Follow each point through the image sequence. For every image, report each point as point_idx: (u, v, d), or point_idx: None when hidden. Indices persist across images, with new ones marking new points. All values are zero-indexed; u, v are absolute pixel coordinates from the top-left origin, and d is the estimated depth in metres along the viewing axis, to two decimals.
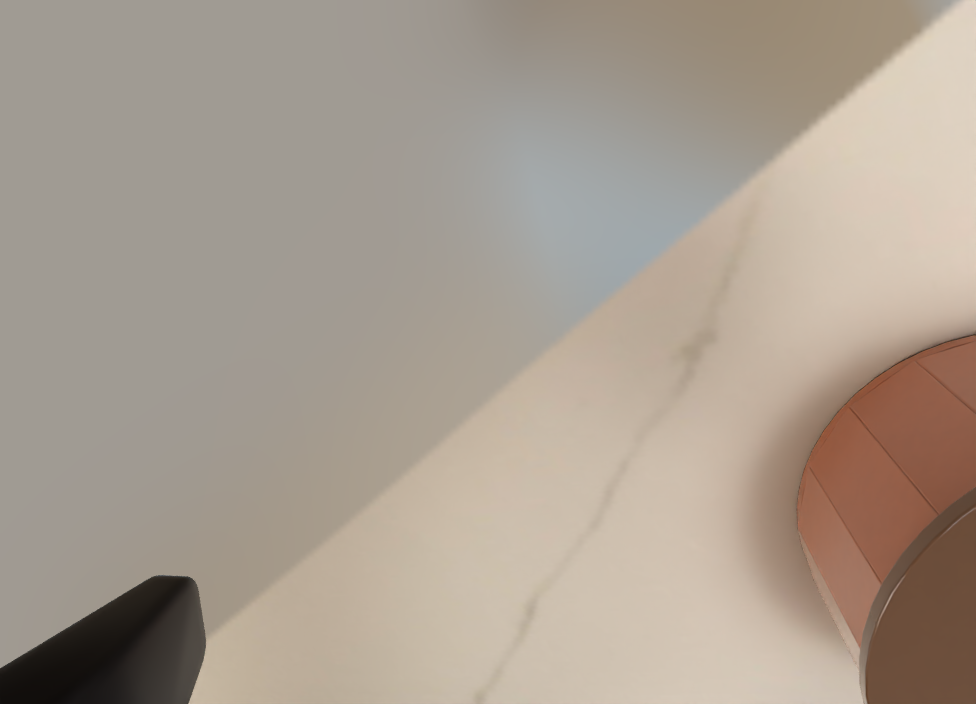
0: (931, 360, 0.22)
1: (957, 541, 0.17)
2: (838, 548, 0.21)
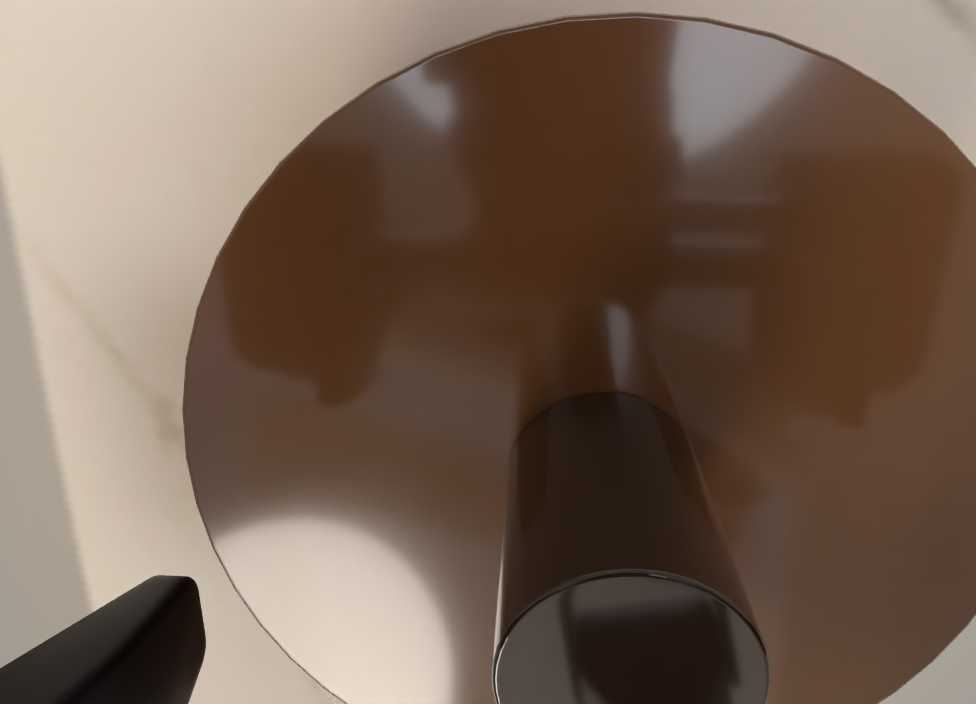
0: None
1: (231, 527, 0.12)
2: None
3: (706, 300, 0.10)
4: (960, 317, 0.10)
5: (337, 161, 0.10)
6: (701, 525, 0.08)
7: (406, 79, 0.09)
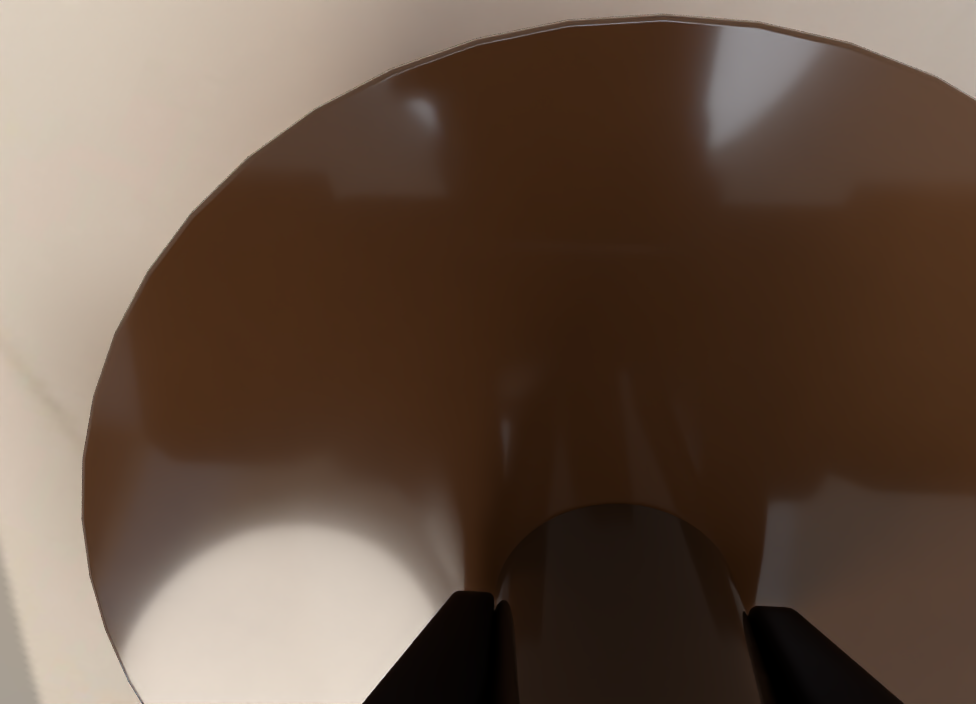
0: None
1: (150, 659, 0.09)
2: None
3: (753, 390, 0.08)
4: None
5: (266, 212, 0.07)
6: None
7: (354, 106, 0.07)
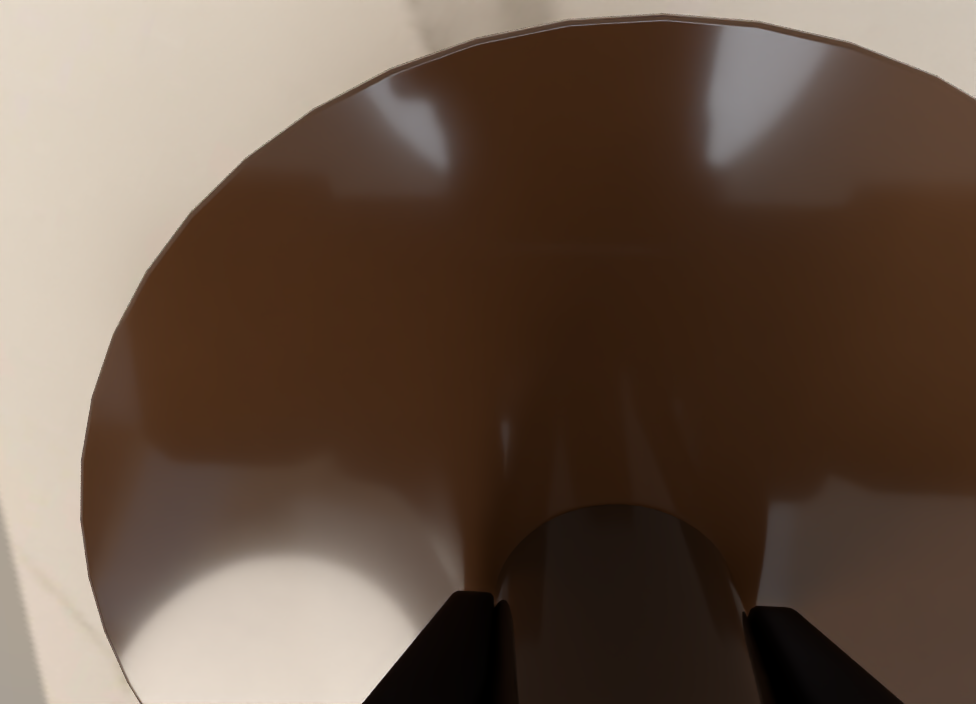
0: None
1: (148, 660, 0.09)
2: None
3: (753, 391, 0.08)
4: None
5: (264, 212, 0.07)
6: None
7: (353, 105, 0.07)
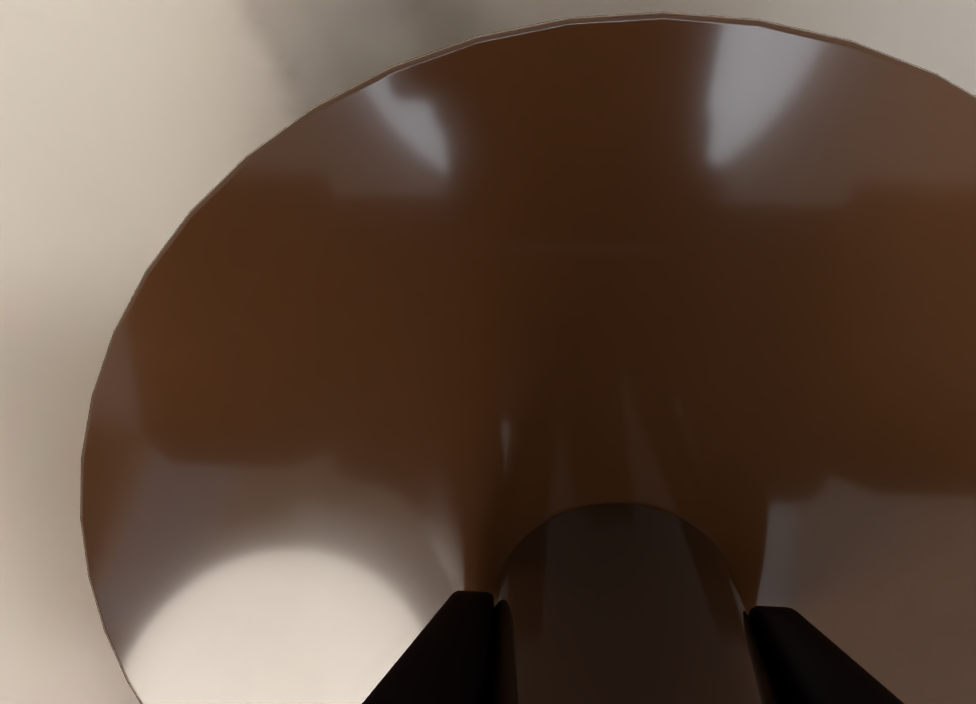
0: None
1: (149, 659, 0.09)
2: None
3: (753, 390, 0.08)
4: None
5: (265, 211, 0.07)
6: None
7: (353, 104, 0.07)
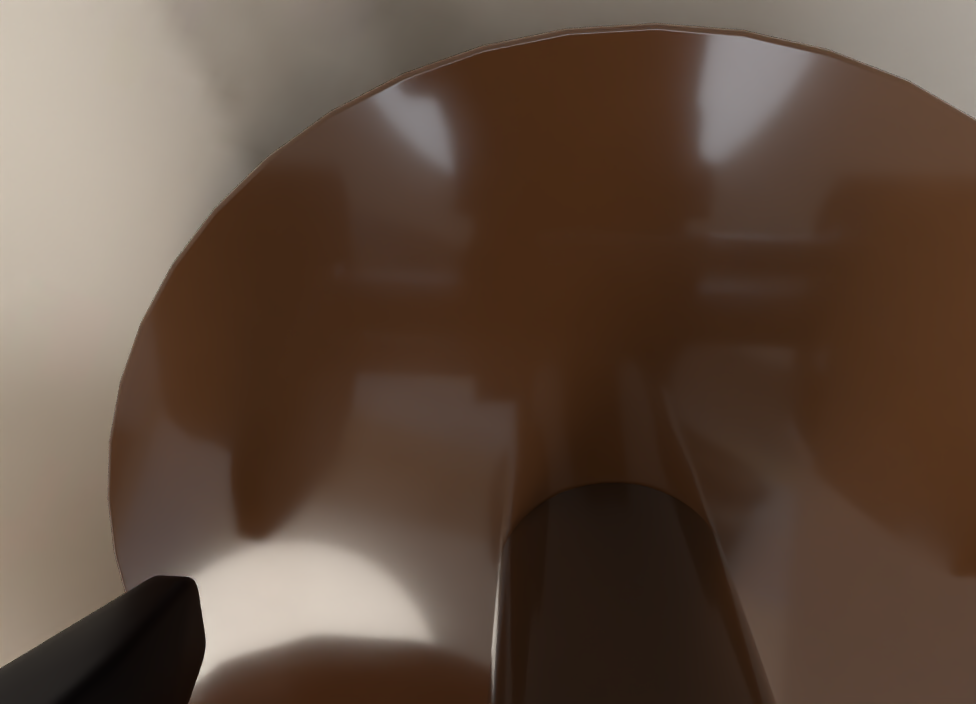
0: None
1: None
2: None
3: (741, 375, 0.08)
4: None
5: (284, 207, 0.08)
6: (744, 690, 0.06)
7: (368, 107, 0.07)
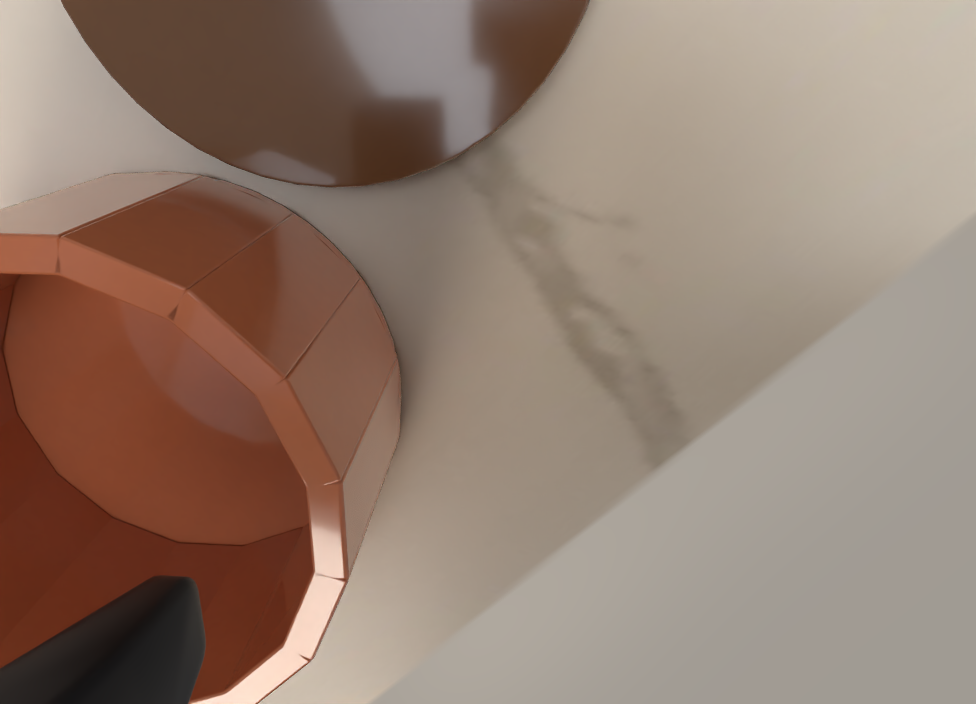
0: None
1: None
2: None
3: None
4: None
5: None
6: None
7: None
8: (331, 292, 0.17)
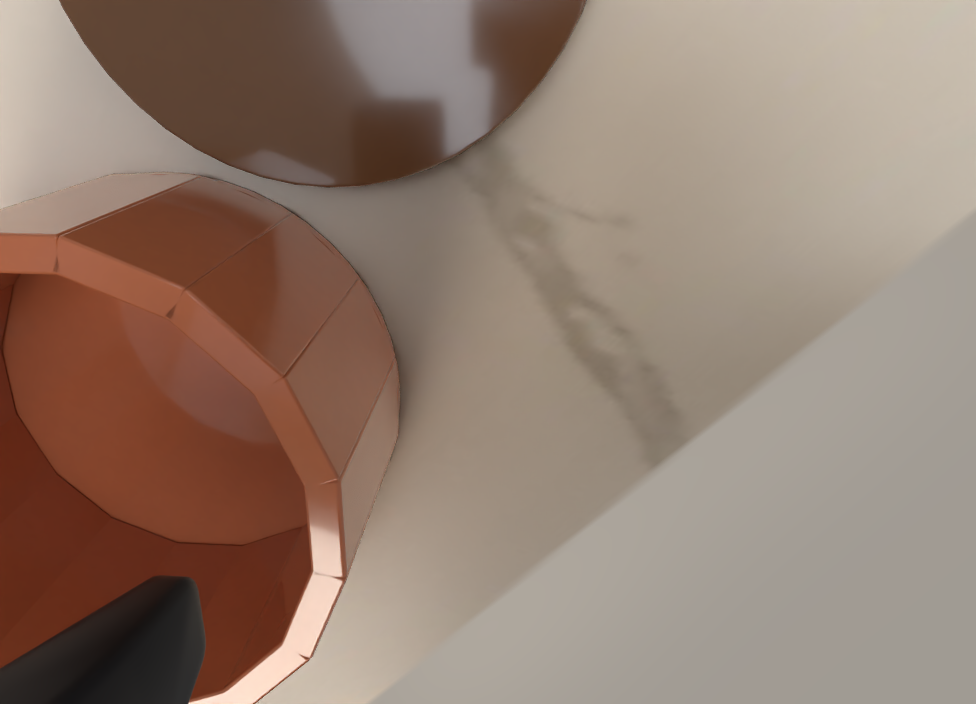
0: None
1: None
2: None
3: None
4: None
5: None
6: None
7: None
8: (329, 291, 0.17)
